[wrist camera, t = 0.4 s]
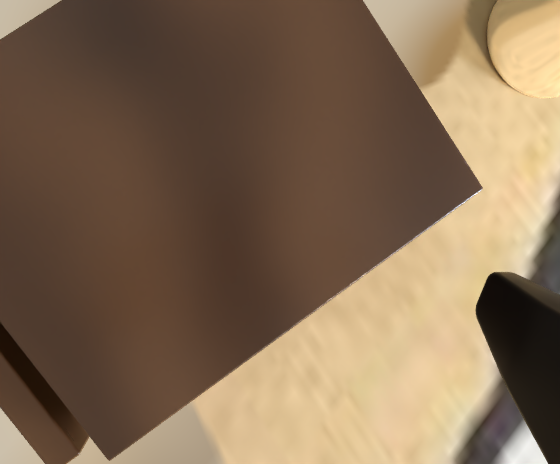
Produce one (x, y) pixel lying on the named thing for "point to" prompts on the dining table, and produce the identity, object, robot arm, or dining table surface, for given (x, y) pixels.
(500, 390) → the dining table surface
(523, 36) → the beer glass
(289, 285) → the cabinet
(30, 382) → the drawer
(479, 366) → the dining table surface
